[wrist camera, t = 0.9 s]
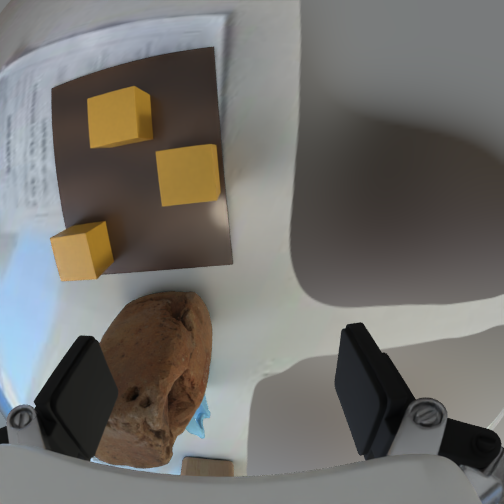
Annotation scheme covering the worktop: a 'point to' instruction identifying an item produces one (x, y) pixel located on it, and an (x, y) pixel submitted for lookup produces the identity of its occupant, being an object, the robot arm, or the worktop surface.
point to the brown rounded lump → (155, 376)
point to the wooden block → (206, 467)
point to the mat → (144, 164)
